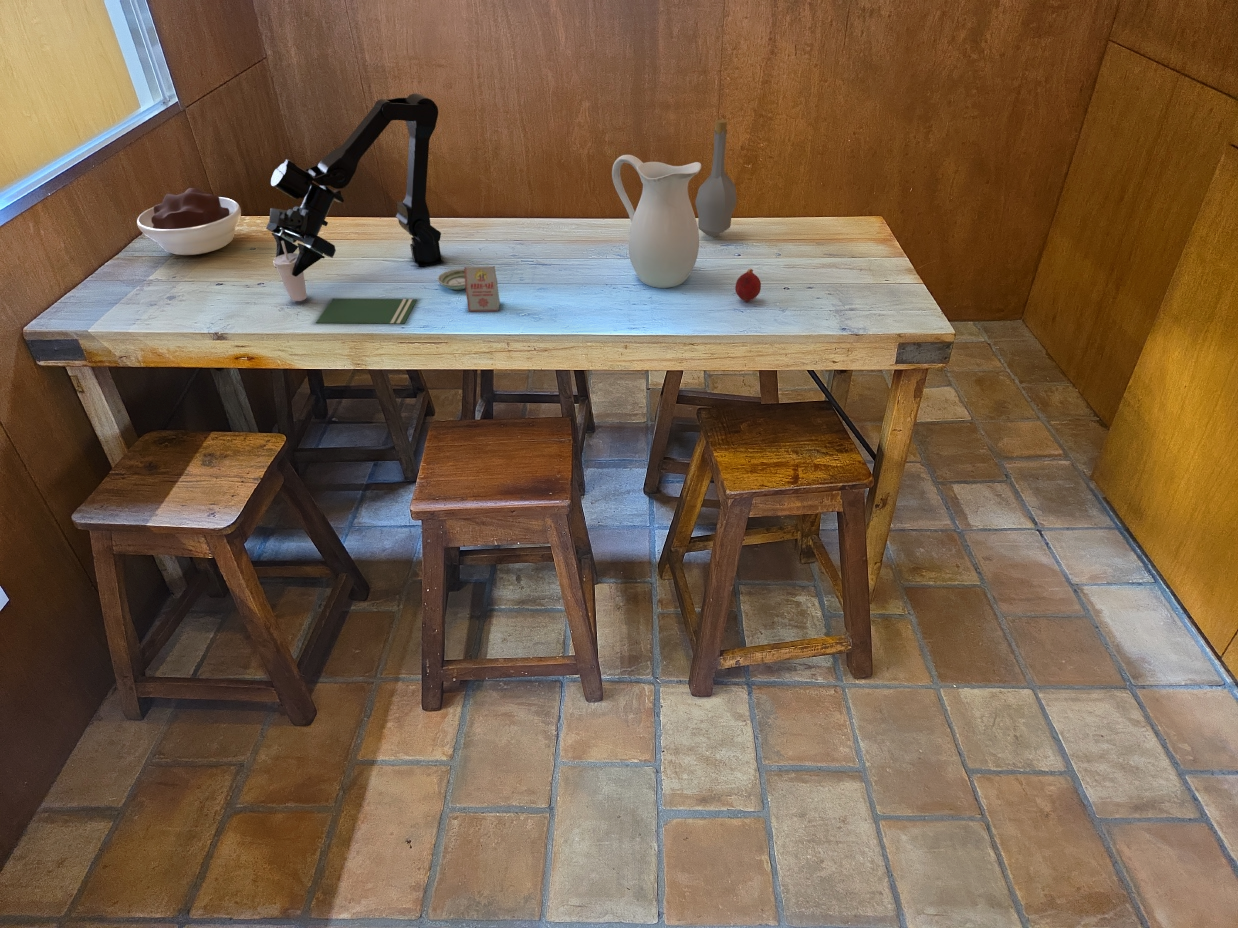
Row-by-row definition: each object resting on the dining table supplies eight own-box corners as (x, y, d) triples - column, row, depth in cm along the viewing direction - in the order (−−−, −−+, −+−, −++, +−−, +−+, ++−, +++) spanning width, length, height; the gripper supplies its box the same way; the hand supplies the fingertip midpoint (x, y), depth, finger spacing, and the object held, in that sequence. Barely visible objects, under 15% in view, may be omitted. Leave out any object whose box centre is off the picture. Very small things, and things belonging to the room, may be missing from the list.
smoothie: (287, 306, 181) (269, 248, 172) (282, 295, 186) (264, 238, 177) (315, 299, 183) (299, 242, 175) (310, 289, 188) (294, 233, 179)
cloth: (416, 300, 185) (416, 299, 185) (404, 324, 175) (404, 323, 175) (333, 299, 185) (332, 298, 185) (316, 323, 176) (315, 322, 176)
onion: (752, 309, 179) (756, 276, 175) (729, 303, 182) (732, 271, 177) (763, 299, 183) (766, 267, 178) (740, 294, 186) (743, 262, 181)
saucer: (463, 274, 196) (462, 264, 195) (487, 285, 191) (486, 276, 189) (431, 286, 191) (429, 276, 189) (454, 298, 185) (452, 288, 184)
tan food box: (470, 304, 183) (465, 263, 177) (499, 303, 183) (495, 263, 177) (468, 311, 180) (463, 270, 174) (498, 311, 180) (493, 270, 174)
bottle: (736, 245, 209) (746, 127, 191) (694, 245, 209) (700, 127, 191) (732, 229, 218) (741, 115, 200) (691, 230, 218) (697, 115, 200)
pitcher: (710, 277, 193) (718, 161, 176) (666, 300, 184) (670, 180, 166) (638, 252, 206) (639, 141, 189) (593, 272, 196) (590, 157, 179)
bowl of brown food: (139, 271, 199) (115, 212, 190) (160, 235, 218) (140, 180, 209) (243, 261, 204) (225, 203, 194) (255, 226, 223) (239, 172, 214)
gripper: (261, 184, 177) (232, 247, 177) (310, 201, 168) (279, 267, 168) (300, 208, 187) (273, 267, 187) (349, 225, 177) (320, 288, 178)
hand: (285, 272), depth 179 cm, fingers closed on smoothie, 6 cm apart
